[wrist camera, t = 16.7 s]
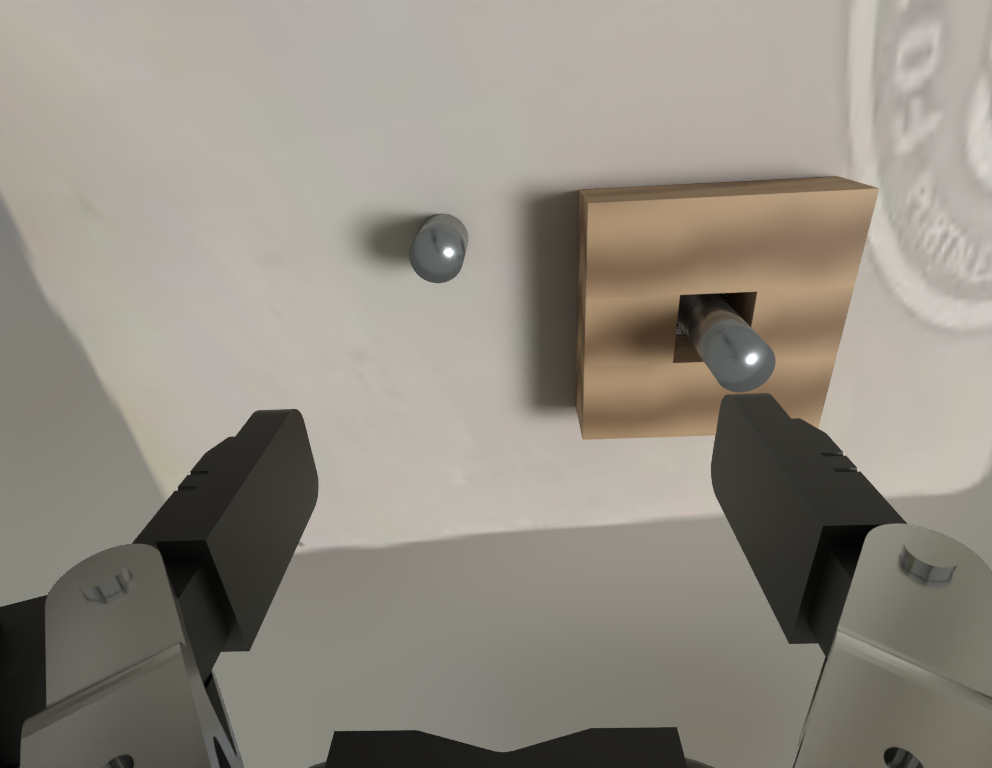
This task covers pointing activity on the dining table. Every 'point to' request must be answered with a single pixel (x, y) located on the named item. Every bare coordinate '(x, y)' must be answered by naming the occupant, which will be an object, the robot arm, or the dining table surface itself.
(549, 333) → the dining table surface
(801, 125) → the dining table surface
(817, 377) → the block
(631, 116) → the dining table surface
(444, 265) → the short pin
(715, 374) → the long pin
